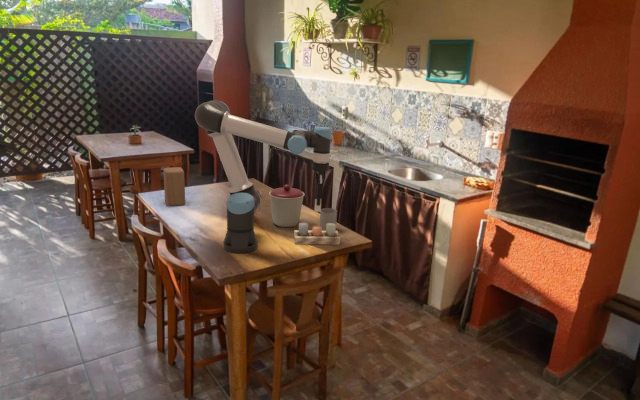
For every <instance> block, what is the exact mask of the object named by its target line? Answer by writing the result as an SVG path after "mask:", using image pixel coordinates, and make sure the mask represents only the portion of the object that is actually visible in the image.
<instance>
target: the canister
mask: <svg viewBox="0 0 640 400" xmlns="http://www.w3.org/2000/svg"><path fill="white" fill-rule="evenodd" d="M268 196H270V198H269V199H270V209H271V217H272V222H273V224H274V225H276V226H278V227H281V228H290V227H296V226H297V225H299V223H300V218H301V214H302V207H303V201H304V197H305V192H304V191H302V190H300V189H298V188H294V187H291V185H290V184H284V185H283V187H277V188H273V189H272V190H270V191H269V192H268Z"/></svg>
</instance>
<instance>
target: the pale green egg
mask: <svg viewBox="0 0 640 400" xmlns="http://www.w3.org/2000/svg"><path fill="white" fill-rule="evenodd" d="M335 229H337V223H336V224H334V223H327V224H326V235H327V236H335Z"/></svg>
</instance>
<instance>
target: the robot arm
mask: <svg viewBox="0 0 640 400" xmlns="http://www.w3.org/2000/svg"><path fill="white" fill-rule="evenodd" d="M194 118H195V122H196V124H197V125H198V126H199V127H200V128H202V129H203V130H205V132H206V135H207V136H208V137H210V138H212V140H213V143H214V146H215V147H216V151H217V153H218V155H219V159H220V162H221V164H222V166H223V167H222V168H223V170H224V172H225V175H226V177H227V181H228V184H229V187H230V188H229V191H228V193H229V196H228V198H227V199H226V232H225V236H224V237H223V238H224V239H223V243H222V247H223V249H224V250H225V251H226V252H229V253H233V254H244V253H245V254H246V253H250V252H254V251H255V250H257V248H258V243H259V242H258V239H257V236H256V233H255V229H254V228H255V215H256V213H257V210H258V209H259V207H260V205H261V195H260V194H259V192H258V190H256V188H255V185H254V183H253V182H251V181H249V178H248V176H247V173H246V170H245V167H244V163H243V162H242V159H241V156H240V154H239V151H238V147H237V144H236V143H235V139H234V136H236V137H237V136H238V137H241V138H244V139H247V140H252V141H255V142H259V143H263V144H266V145H269V146H273V147H277V148H281V149H284V150H286V151H290V153H291V154H294V155H300V154H302V153H303V152H304V151H305V150H306V149H308V148H309V149H313V151H312V163H311V164H312V165H311V169H312V170H313V171H315V172H316V173H315V175H314V176H315V180H314V181H315V192H314V195H315V196H314V213H320V212H321V209H322V199H323V194H324V184H325V177H326V175H325V173H324V172H326V173H327V172H328V171H329V170H330V158H331V157H332V155H331V154H330V152H331V143H332V129H331V128H330V127H327V126H315V127H314V130H303V129H288V130H286V129H282V128H278V127H274V126H271V125H267V124H265V123H260V122H257V121H254V120H250V119H247V118H243V117H240V116H237V115H233V114H231V110H230V108H229V106H228V105H227V104H226V103H224V101H220V100H218V99H217V100H216V99H213V100H208V101H207V102H203V103H200V104H199V105H198V106H197V108H196V109H195V112H194Z"/></svg>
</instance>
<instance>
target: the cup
mask: <svg viewBox="0 0 640 400" xmlns="http://www.w3.org/2000/svg"><path fill="white" fill-rule="evenodd" d="M319 214H320V215H319V227H322V231H326V224H327V223H334V224H336V225H337V220H338V219H337V217H338V210H337V209H335V208H330V207H329V208H328V207H325V208H321V212H319ZM336 229H337V228H336ZM336 229H335V230H336ZM336 231H337V230H336Z"/></svg>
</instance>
